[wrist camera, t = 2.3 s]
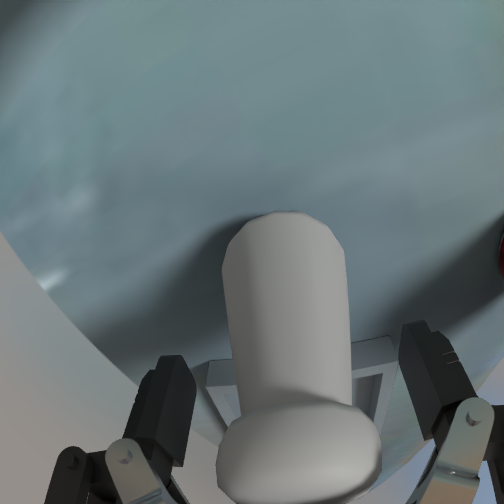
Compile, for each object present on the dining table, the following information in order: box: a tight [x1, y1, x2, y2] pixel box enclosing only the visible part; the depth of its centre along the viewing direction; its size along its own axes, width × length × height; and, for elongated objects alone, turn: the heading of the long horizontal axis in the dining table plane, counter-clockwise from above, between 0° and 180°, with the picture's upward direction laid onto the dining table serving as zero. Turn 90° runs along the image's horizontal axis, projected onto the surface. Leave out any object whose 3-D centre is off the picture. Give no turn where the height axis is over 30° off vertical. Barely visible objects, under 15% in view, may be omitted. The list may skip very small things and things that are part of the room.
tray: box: [205, 336, 399, 436], centre depth 23 cm, size 13×13×2 cm
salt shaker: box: [216, 211, 382, 504], centre depth 11 cm, size 6×6×13 cm
